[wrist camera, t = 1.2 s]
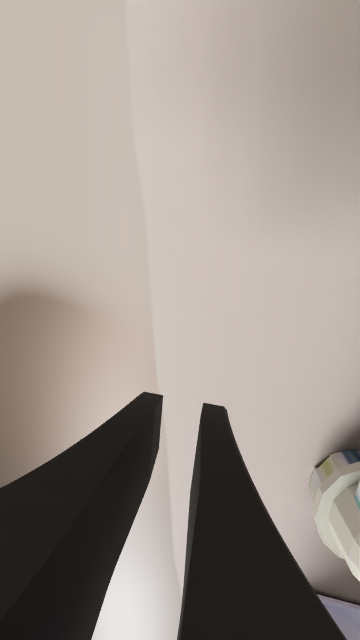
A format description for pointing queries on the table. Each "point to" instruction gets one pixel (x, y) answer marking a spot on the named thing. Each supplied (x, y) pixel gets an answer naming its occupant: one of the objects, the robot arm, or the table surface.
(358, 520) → the white tube
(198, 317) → the table surface
